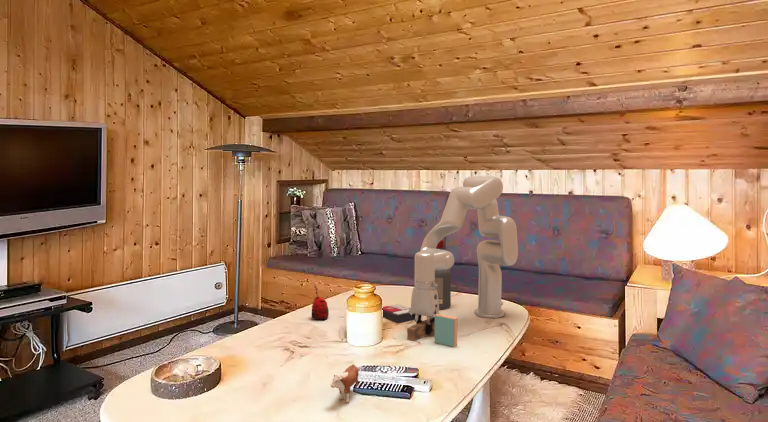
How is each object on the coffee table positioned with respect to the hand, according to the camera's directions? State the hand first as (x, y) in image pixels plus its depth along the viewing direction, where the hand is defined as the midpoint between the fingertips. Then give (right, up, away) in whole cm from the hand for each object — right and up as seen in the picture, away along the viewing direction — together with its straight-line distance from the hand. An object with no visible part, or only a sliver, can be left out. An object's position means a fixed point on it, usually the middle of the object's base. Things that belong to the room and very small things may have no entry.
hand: (424, 332), depth 193 cm
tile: (+7, -1, -11) cm, 13 cm away
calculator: (-9, +1, +22) cm, 24 cm away
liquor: (+9, +3, +36) cm, 38 cm away
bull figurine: (-25, -5, -53) cm, 59 cm away
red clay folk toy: (-42, +1, +19) cm, 46 cm away
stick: (0, -1, 0) cm, 1 cm away
